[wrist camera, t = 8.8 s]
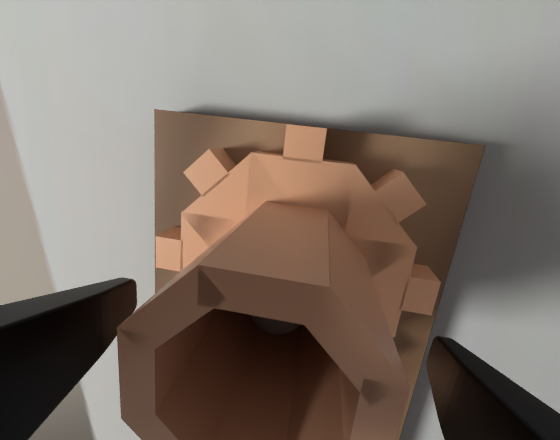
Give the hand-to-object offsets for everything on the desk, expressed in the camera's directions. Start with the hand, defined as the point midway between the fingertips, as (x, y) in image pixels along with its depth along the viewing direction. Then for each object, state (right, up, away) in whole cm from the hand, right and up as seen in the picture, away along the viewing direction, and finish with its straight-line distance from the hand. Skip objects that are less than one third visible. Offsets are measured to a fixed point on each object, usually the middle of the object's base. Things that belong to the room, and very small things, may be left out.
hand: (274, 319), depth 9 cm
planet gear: (+1, +1, +4) cm, 5 cm away
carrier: (0, -3, +7) cm, 8 cm away
